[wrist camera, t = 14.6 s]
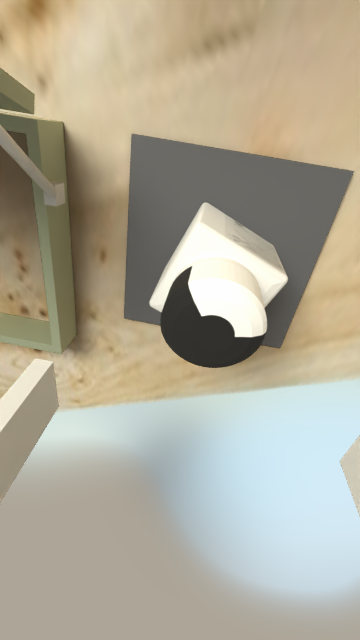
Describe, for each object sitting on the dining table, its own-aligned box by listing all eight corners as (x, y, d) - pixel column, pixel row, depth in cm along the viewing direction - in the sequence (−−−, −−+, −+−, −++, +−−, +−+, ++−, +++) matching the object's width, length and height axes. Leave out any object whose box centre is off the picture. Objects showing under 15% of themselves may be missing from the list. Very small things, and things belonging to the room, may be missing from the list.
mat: (279, 345, 33) (279, 348, 33) (125, 316, 34) (123, 318, 33) (351, 170, 24) (353, 171, 23) (133, 133, 24) (131, 133, 24)
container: (227, 306, 31) (228, 399, 20) (163, 269, 30) (127, 346, 19) (275, 245, 27) (309, 320, 16) (204, 199, 26) (188, 246, 15)
